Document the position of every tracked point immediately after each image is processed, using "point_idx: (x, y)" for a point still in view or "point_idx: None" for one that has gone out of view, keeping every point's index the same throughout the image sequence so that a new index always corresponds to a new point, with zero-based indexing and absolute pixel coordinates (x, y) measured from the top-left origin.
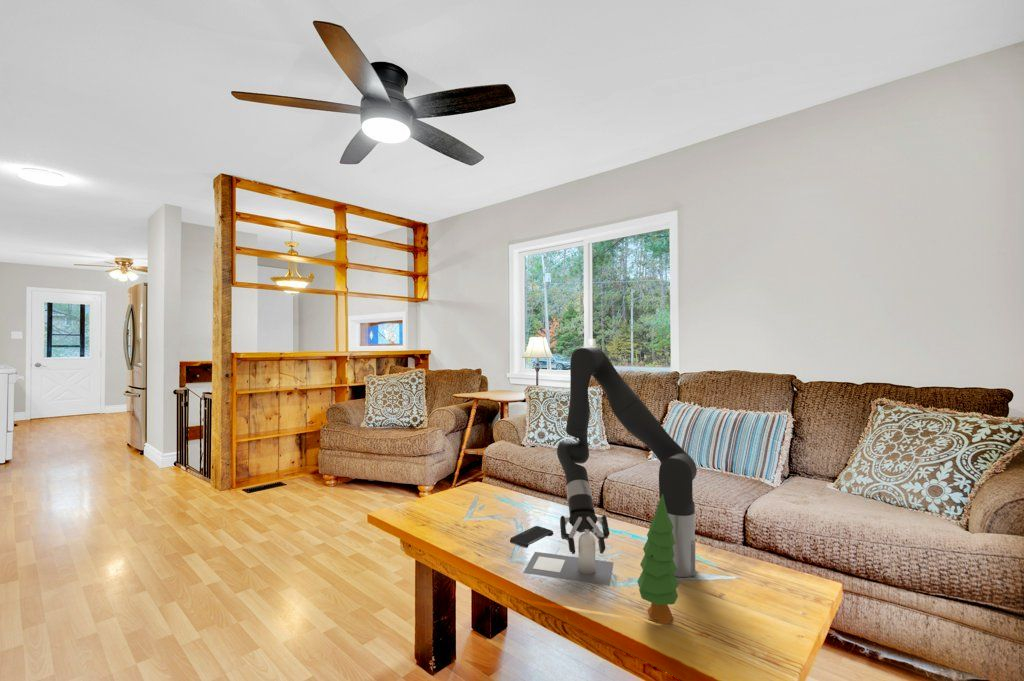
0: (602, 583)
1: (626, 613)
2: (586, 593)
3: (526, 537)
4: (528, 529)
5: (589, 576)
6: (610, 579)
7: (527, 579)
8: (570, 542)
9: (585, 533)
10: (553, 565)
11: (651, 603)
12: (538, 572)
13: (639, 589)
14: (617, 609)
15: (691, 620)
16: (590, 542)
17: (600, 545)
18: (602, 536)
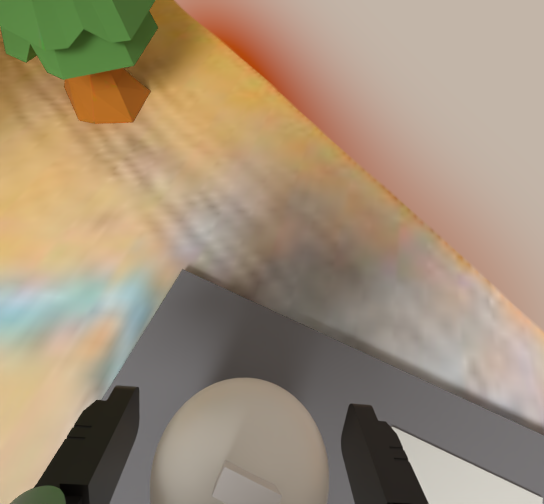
0: (207, 290)
1: (199, 127)
2: (294, 248)
3: None
4: None
5: (246, 364)
6: (151, 320)
7: (539, 397)
8: (405, 478)
9: (266, 482)
10: None
11: (112, 76)
12: (503, 443)
13: (134, 58)
14: (218, 147)
15: (18, 68)
16: (232, 380)
17: (120, 423)
18: (35, 497)
